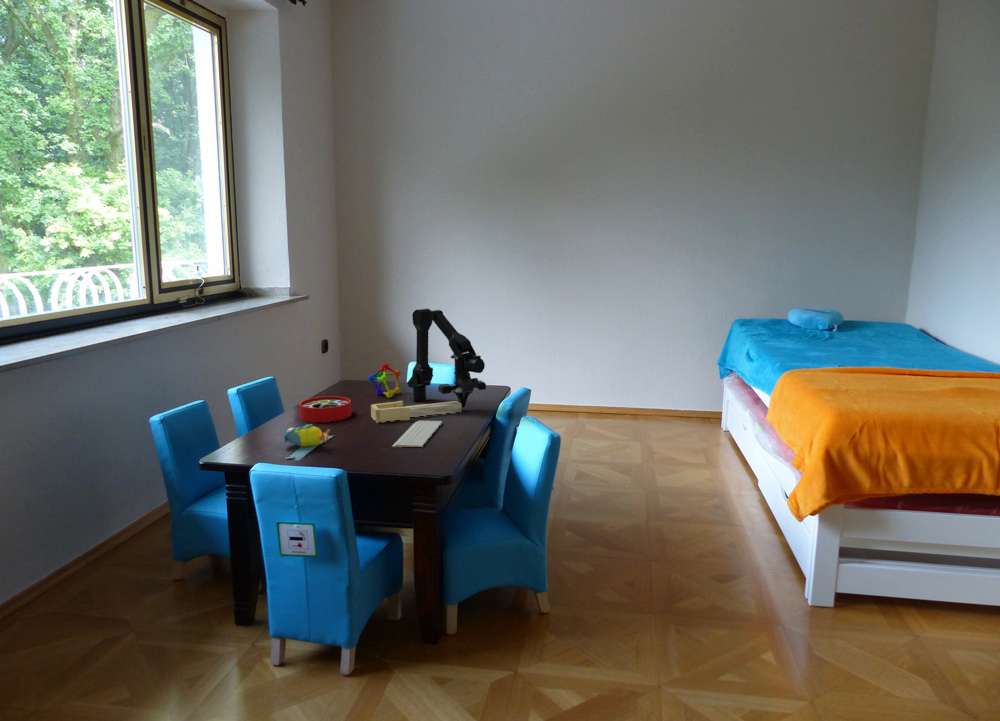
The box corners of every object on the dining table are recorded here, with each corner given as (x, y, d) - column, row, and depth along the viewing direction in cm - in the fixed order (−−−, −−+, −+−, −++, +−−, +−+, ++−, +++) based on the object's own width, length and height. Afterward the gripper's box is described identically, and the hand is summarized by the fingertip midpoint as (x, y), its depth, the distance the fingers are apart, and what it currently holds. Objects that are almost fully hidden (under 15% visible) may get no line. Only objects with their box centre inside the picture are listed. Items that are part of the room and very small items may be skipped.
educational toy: (375, 394, 324) (375, 361, 323) (402, 394, 323) (402, 361, 322) (364, 398, 309) (364, 364, 308) (393, 399, 308) (393, 365, 306)
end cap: (370, 416, 282) (369, 403, 281) (402, 412, 287) (402, 400, 286) (377, 423, 271) (376, 411, 270) (410, 420, 275) (410, 407, 274)
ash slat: (405, 416, 283) (404, 406, 282) (457, 410, 291) (457, 400, 290) (408, 419, 279) (408, 409, 278) (461, 413, 287) (461, 403, 286)
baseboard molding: (387, 448, 242) (422, 450, 240) (387, 440, 241) (421, 441, 240) (411, 424, 272) (442, 425, 270) (411, 416, 272) (442, 417, 270)
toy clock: (312, 395, 294) (358, 397, 290) (313, 409, 295) (359, 411, 291) (289, 407, 275) (338, 409, 271) (290, 422, 276) (339, 424, 272)
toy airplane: (307, 436, 227) (264, 435, 229) (310, 462, 228) (266, 461, 231) (343, 414, 254) (303, 413, 256) (345, 437, 255) (305, 436, 258)
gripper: (445, 375, 276) (447, 414, 279) (490, 371, 283) (491, 409, 285) (437, 370, 286) (438, 408, 289) (480, 366, 293) (481, 403, 296)
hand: (462, 407), depth 289 cm, fingers closed
